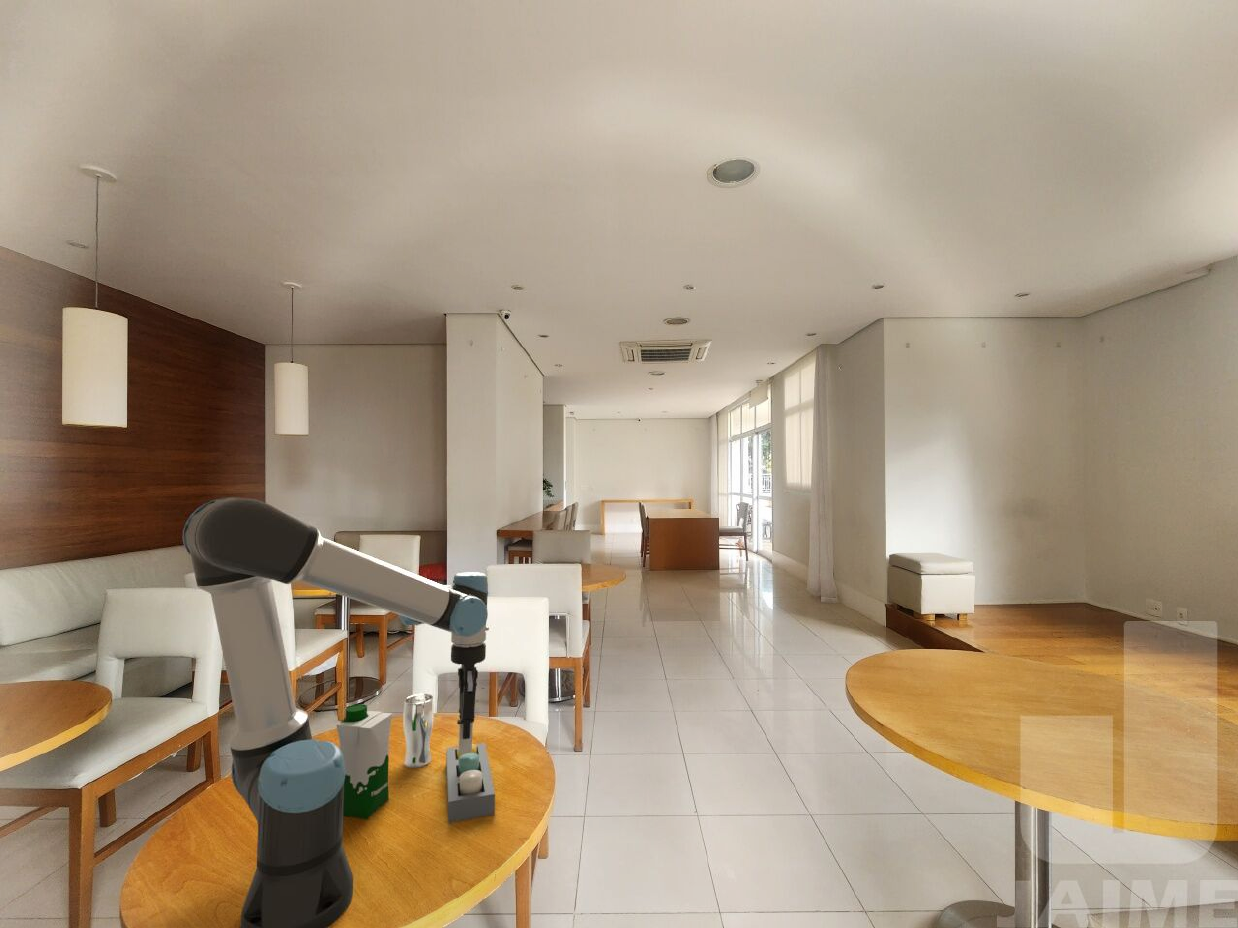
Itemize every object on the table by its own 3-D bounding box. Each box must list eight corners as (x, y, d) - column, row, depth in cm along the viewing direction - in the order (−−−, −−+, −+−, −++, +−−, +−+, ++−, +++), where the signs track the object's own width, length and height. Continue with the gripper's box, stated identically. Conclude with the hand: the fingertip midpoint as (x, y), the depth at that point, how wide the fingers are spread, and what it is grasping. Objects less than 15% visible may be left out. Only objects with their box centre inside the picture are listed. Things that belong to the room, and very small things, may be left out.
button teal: (479, 776, 119) (479, 760, 119) (458, 779, 118) (458, 763, 118) (478, 766, 123) (478, 751, 123) (457, 769, 122) (458, 754, 122)
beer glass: (437, 755, 135) (438, 693, 136) (425, 769, 128) (426, 704, 129) (410, 754, 136) (412, 692, 137) (396, 768, 129) (398, 703, 130)
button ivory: (482, 795, 111) (482, 778, 112) (460, 798, 110) (460, 782, 110) (480, 784, 116) (481, 768, 116) (459, 787, 114) (459, 771, 114)
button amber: (477, 764, 127) (477, 750, 127) (457, 767, 125) (457, 752, 125) (475, 756, 131) (476, 742, 131) (456, 758, 129) (456, 744, 130)
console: (494, 814, 110) (495, 793, 111) (448, 822, 107) (448, 801, 108) (484, 759, 133) (485, 742, 133) (446, 765, 130) (446, 748, 130)
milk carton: (358, 793, 118) (360, 699, 119) (395, 798, 116) (397, 702, 117) (328, 817, 109) (331, 715, 110) (369, 822, 108) (371, 718, 109)
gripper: (489, 648, 118) (486, 761, 116) (482, 634, 130) (479, 737, 128) (453, 651, 115) (449, 767, 114) (449, 637, 127) (445, 741, 126)
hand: (465, 751), depth 121 cm, fingers closed
